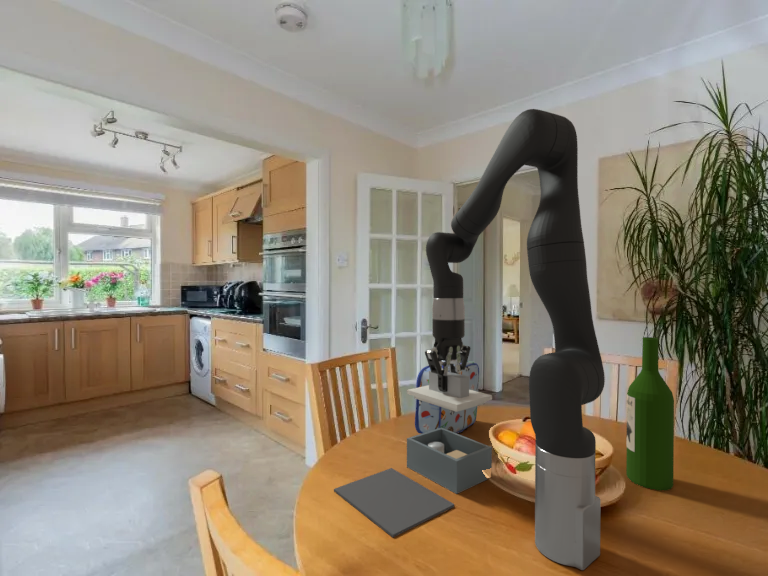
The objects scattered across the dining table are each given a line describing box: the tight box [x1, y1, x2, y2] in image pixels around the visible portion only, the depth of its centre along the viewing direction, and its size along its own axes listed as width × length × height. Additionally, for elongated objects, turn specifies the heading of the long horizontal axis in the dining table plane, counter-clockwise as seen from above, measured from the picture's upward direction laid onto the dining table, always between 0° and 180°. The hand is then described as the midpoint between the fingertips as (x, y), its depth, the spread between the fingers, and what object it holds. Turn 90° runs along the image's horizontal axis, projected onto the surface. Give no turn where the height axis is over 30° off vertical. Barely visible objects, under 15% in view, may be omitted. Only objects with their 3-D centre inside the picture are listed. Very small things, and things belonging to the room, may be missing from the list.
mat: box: [333, 467, 455, 538], centre depth 83 cm, size 20×16×1 cm
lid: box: [406, 371, 493, 412], centre depth 95 cm, size 16×12×6 cm
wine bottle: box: [625, 336, 675, 491], centre depth 91 cm, size 9×9×32 cm
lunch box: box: [414, 359, 480, 434], centre depth 123 cm, size 28×10×22 cm, turn 143°
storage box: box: [406, 428, 493, 495], centre depth 95 cm, size 16×12×7 cm
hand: (448, 389), depth 95 cm, fingers closed on lid, 3 cm apart
